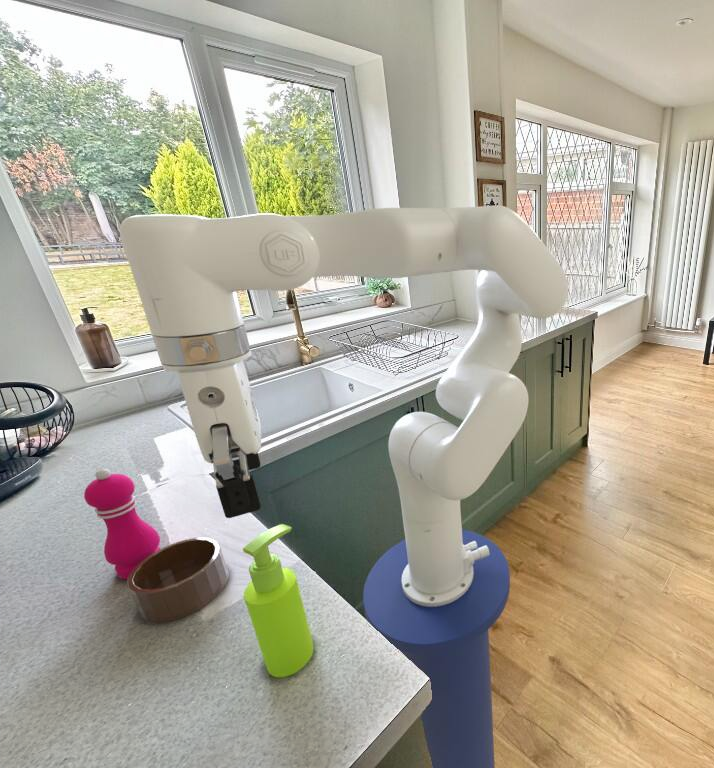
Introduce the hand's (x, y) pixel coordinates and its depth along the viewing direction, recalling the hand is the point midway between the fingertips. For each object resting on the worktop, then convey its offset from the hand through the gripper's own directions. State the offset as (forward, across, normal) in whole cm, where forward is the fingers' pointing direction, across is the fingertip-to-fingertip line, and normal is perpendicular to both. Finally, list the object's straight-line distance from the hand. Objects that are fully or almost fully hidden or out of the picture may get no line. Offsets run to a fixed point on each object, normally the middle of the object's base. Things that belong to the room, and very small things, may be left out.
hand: (245, 489), depth 48 cm
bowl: (+28, +22, +14) cm, 38 cm away
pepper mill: (+28, +33, +22) cm, 49 cm away
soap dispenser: (+28, +1, 0) cm, 28 cm away
